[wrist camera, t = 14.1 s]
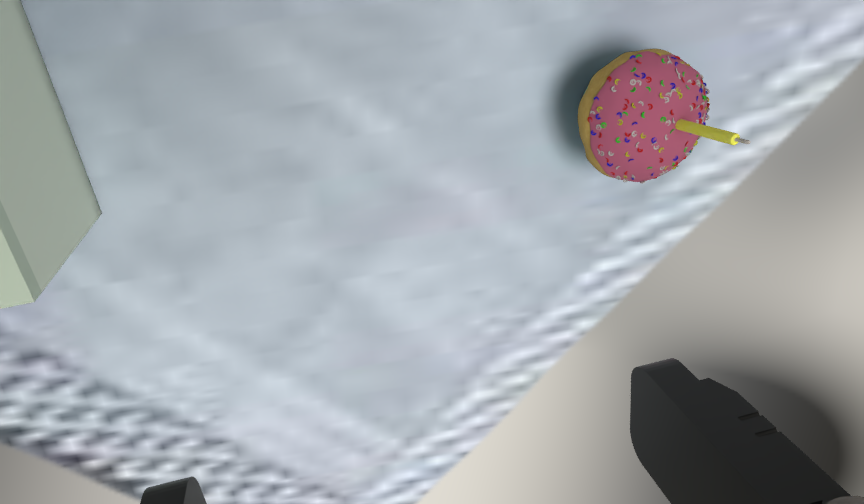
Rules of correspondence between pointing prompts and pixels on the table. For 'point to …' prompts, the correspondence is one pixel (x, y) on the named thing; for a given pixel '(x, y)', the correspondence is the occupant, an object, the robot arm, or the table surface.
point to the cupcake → (645, 115)
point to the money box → (35, 169)
